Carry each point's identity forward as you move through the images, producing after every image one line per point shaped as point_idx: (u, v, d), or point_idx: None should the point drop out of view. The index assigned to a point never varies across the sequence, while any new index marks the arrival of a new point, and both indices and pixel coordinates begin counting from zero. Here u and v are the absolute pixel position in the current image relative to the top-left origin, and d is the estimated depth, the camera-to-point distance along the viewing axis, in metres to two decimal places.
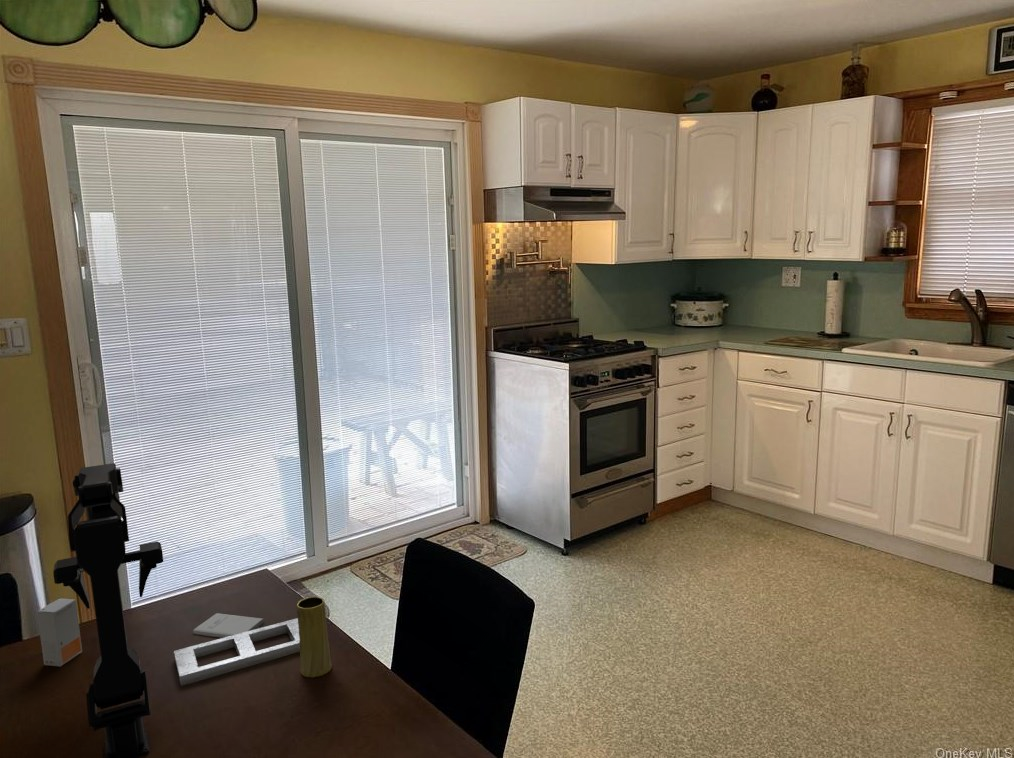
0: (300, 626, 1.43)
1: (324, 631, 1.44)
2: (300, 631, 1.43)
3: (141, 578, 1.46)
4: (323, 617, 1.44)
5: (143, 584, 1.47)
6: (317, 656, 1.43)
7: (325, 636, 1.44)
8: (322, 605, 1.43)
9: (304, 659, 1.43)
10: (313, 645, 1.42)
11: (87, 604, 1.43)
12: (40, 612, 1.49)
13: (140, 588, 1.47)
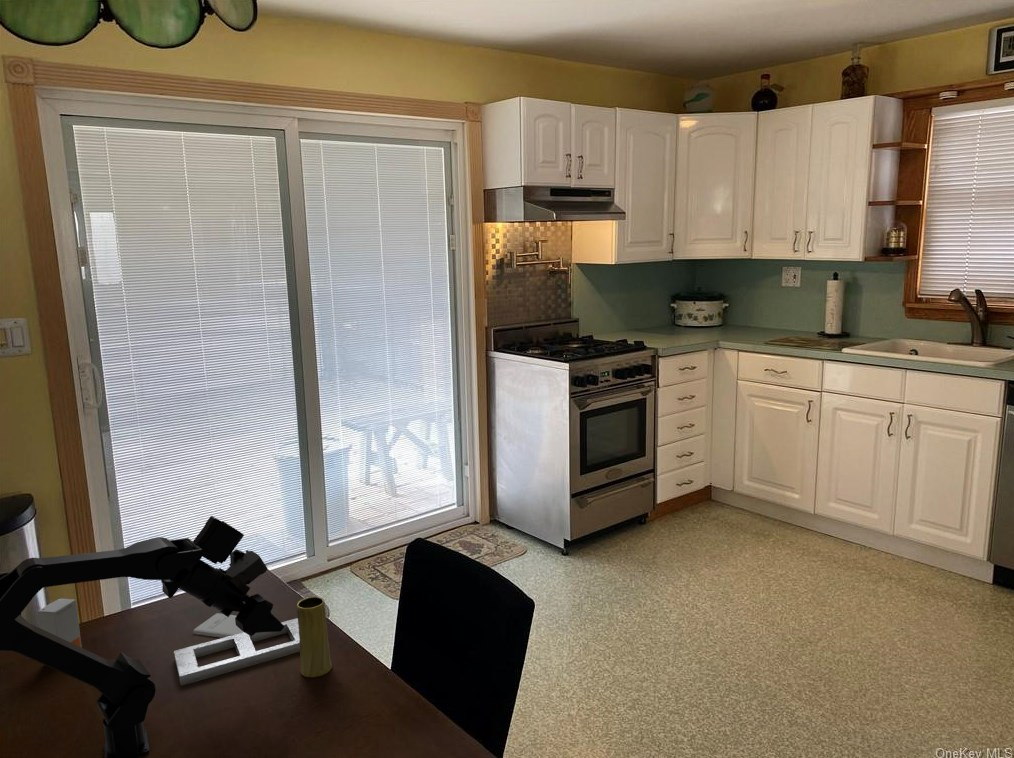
0: (300, 626, 1.43)
1: (324, 631, 1.44)
2: (300, 631, 1.43)
3: None
4: (323, 617, 1.44)
5: None
6: (317, 656, 1.43)
7: (325, 636, 1.44)
8: (322, 605, 1.43)
9: (304, 659, 1.43)
10: (313, 645, 1.42)
11: None
12: (40, 612, 1.49)
13: None
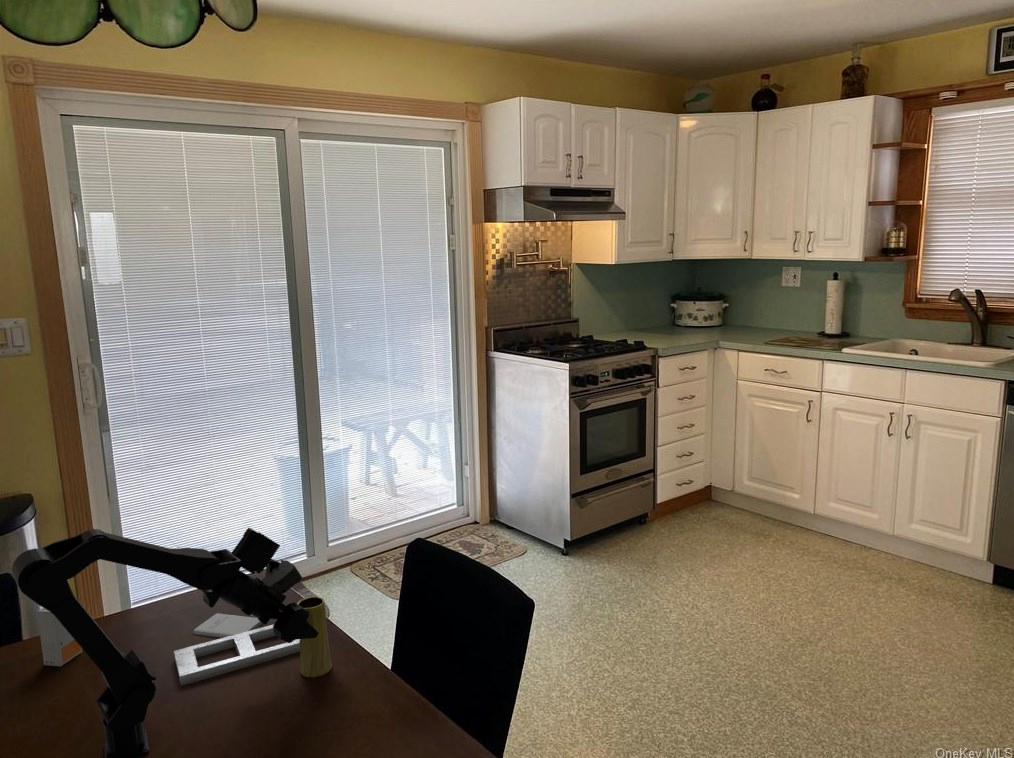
0: None
1: (324, 631, 1.44)
2: None
3: None
4: (323, 617, 1.44)
5: None
6: (317, 656, 1.43)
7: (325, 636, 1.44)
8: (322, 605, 1.43)
9: (304, 659, 1.43)
10: (313, 645, 1.42)
11: None
12: (40, 612, 1.49)
13: None
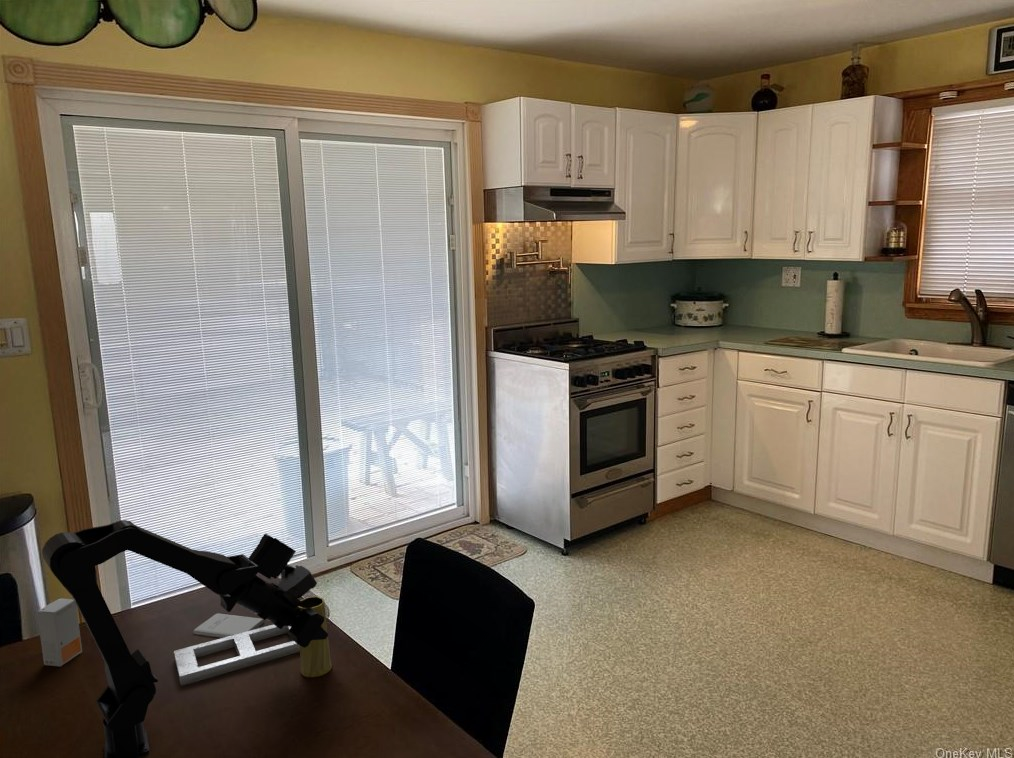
0: None
1: None
2: None
3: None
4: None
5: None
6: (317, 656, 1.43)
7: None
8: (322, 605, 1.43)
9: (304, 659, 1.43)
10: (313, 645, 1.42)
11: None
12: (40, 612, 1.49)
13: None
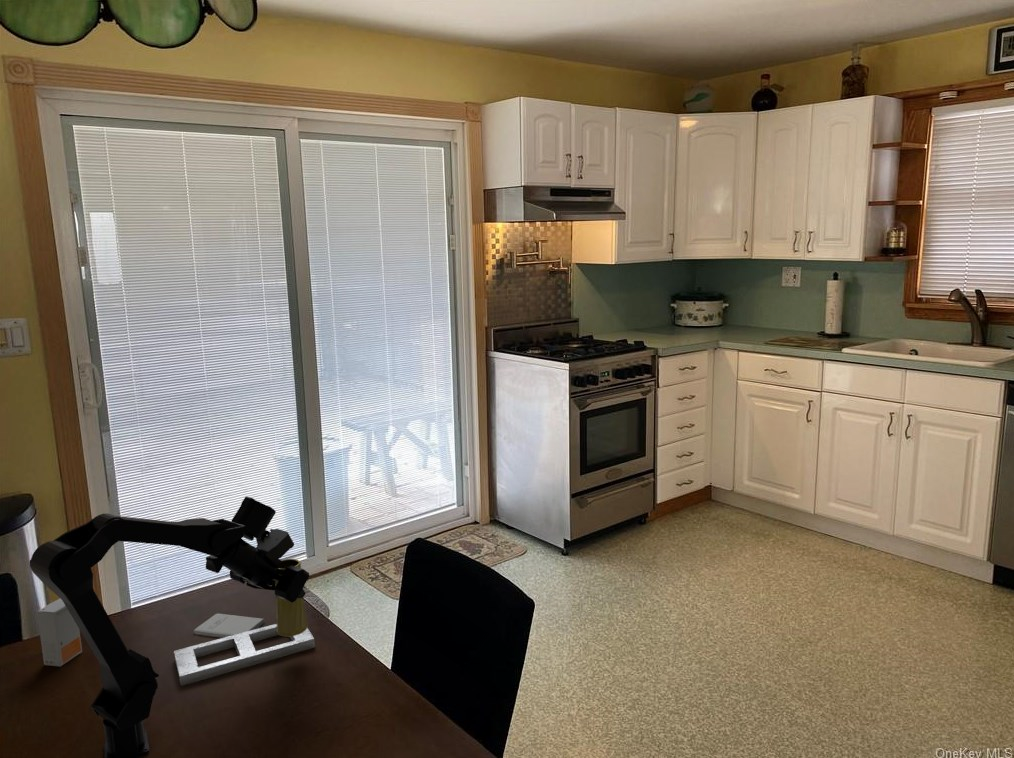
0: None
1: None
2: None
3: None
4: None
5: None
6: (295, 615, 1.48)
7: None
8: (299, 565, 1.48)
9: (282, 619, 1.48)
10: (291, 604, 1.47)
11: None
12: (40, 612, 1.49)
13: None
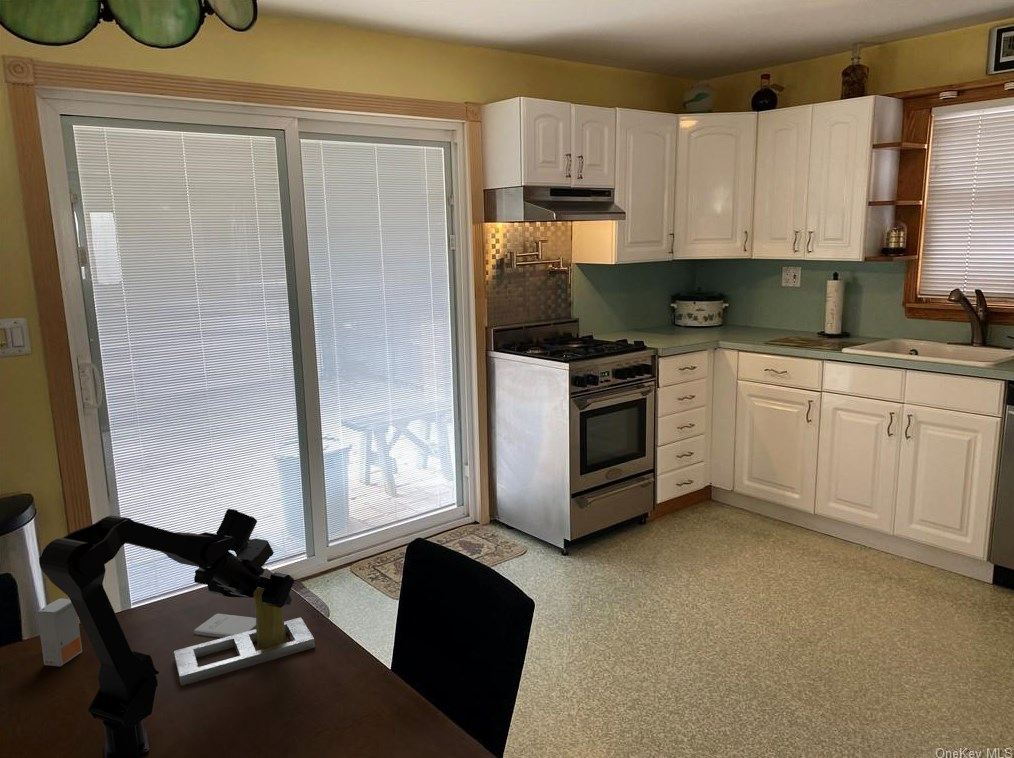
0: (259, 606, 1.51)
1: (281, 607, 1.54)
2: (259, 611, 1.52)
3: None
4: None
5: None
6: (277, 632, 1.53)
7: (282, 612, 1.55)
8: None
9: (264, 637, 1.52)
10: (273, 622, 1.52)
11: (250, 597, 1.56)
12: (40, 612, 1.49)
13: None
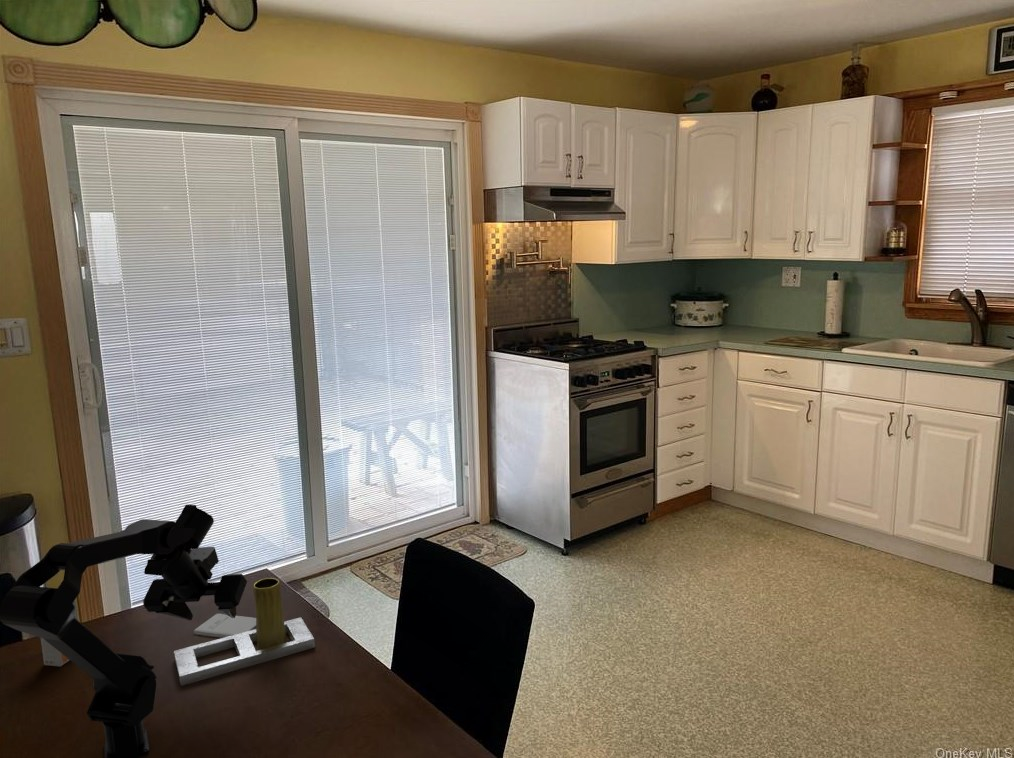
0: (259, 606, 1.51)
1: (281, 607, 1.54)
2: (259, 611, 1.52)
3: (223, 612, 1.40)
4: (280, 595, 1.54)
5: (229, 614, 1.42)
6: (277, 632, 1.53)
7: (282, 612, 1.55)
8: (279, 583, 1.53)
9: (264, 637, 1.52)
10: (273, 622, 1.52)
11: (186, 619, 1.45)
12: None
13: (228, 615, 1.43)
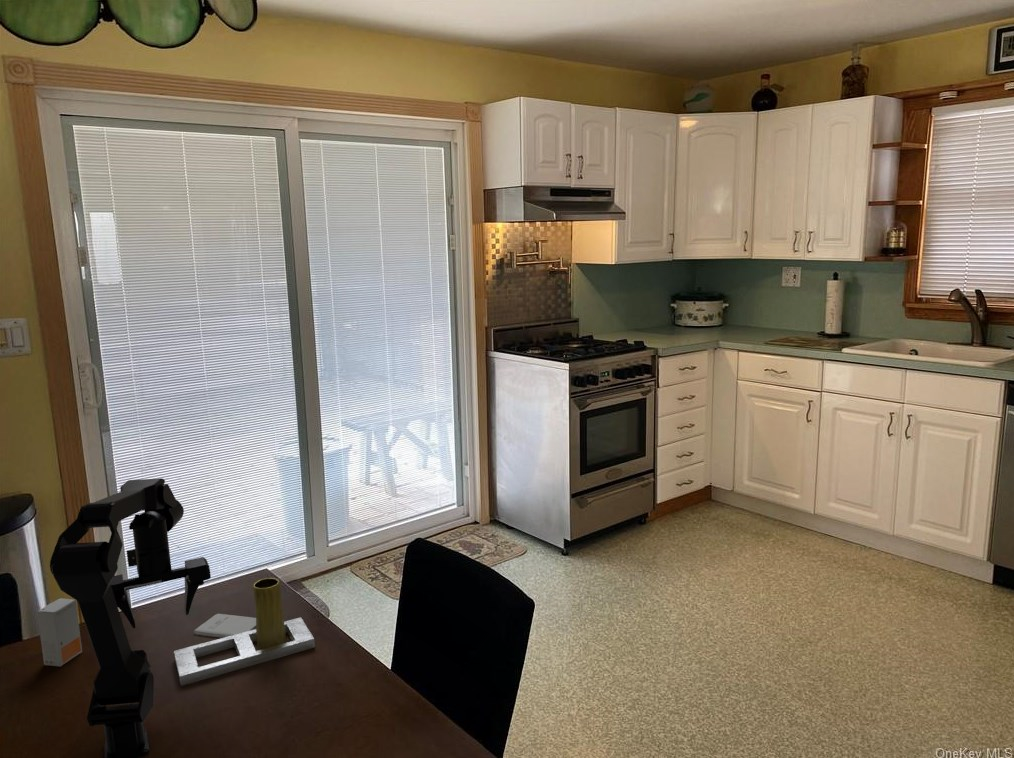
0: (259, 606, 1.51)
1: (281, 607, 1.54)
2: (259, 611, 1.52)
3: (188, 595, 1.41)
4: (280, 594, 1.54)
5: (190, 602, 1.42)
6: (277, 632, 1.53)
7: (282, 612, 1.55)
8: (279, 583, 1.53)
9: (264, 637, 1.52)
10: (273, 622, 1.52)
11: (133, 623, 1.38)
12: (40, 612, 1.49)
13: (187, 606, 1.42)
